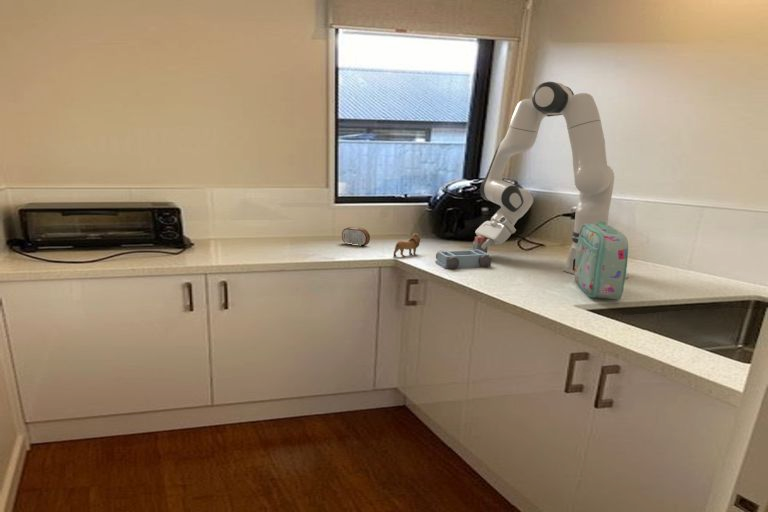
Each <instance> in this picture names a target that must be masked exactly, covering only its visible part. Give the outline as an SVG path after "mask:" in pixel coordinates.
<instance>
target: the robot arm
mask: <svg viewBox="0 0 768 512" xmlns="http://www.w3.org/2000/svg"><path fill="white" fill-rule="evenodd" d="M531 95H532V96H531V98H524V99H522V100H520V101H519V102H517V105H516V106H515V108H514V111H513V114H512V115H511V119H510V123H509V125H508V129H507V132H506V134H505V136H504V138H503V139H502V140H501V141H500V142H499V143H498V145H497V148H496V149H495V152H494V154H493V158H492V160H491V163H490V164H489V169H488V170H487V172H486V175H485V177H484V179H483V180H482V182H481V184H480V187H479V188H480V189H479V194H480V196H481V198H483V200H485V201H488V202H492V203H494V204H496V205H498V206H499V207H500V208H499V209H498V210H497V211H496V212H495V213H494V214H493V216H491V218H490V220H486V221H484V222H483V223H482V224H480V225H479V227H477V229H475V232H474V233H475V235H476V237H477V236H484V237H486V242H485V243H482V244H481V245H480V247H481V248H482V249H485V248H486V247H487V248H488V247H490V246H491V245H492V244H495V245H497V246H500V245H503V244H504V243H505V242H506V241H507V240H508V239H509V238H510V237H511V235H512V234H514V233H516V231H517V229H516V228H515V224H516V223H517V221H518V220H519V219H521V218H522V217H524V215H525V214H526V213H527V212H528V211H529V209H530V208H531V206H532V205H533V203H534V197H533V194H532V193H530V191H528V190H527V189H526V188H521V187H518V186H516V185H515V184H513V183H511V182H508V181H505V180H503V177H502V176H503V174H504V171H505V169H506V166H507V164H508V162H509V159H510V158H511V157H513V156H515V155H519V154H523V153H526V152H527V151H529V150H531V148H533V146H534V145H535V142H536V141H537V138H538V132H539V130H540V126H541V123H542V121H543V119H544V118H546V117H556V116H563V117H564V120H565V123H566V128H567V133H568V138H569V143H570V148H571V152H572V166H573V169H572V170H573V177H574V185H575V188H576V189H577V190H578V191H579V195H578V200H577V204H576V208H575V214H574V215H575V217H574V227H573V231H572V234H571V241H572V244H571V246H570V248H569V250H568V254H567V255H568V256H567V261H566V266H565V267H564V268H563V272H566V273H569V274H573V275H574V271H573V260H574V259H575V258H576V251H577V244H578V238H579V234H580V230H581V228H582V226H583V225H584V224H597V221H599V222H606V226H609V225H608V224H609V223H608V222H609V215H610V207H611V203H612V196H613V189H614V182H615V172H614V170H613V168H612V167H611V166H609V165H608V161H607V154H606V153H607V152H606V141H605V136H604V135H605V134H604V131H603V126H602V125H603V124H602V121H601V116H600V112H599V109H598V106H597V104H596V101H595V99H594V97H593V96H592V95H591V94H590V93H587V92H580V93H576V94H575V93H574V91H573V90H572V89H571V88H570V87H569V86H566V85H564V84H562V83H560V82H555V81H545V82H542V83H541V84H539V85H538V86H536V88H535V89H534V90H533V92H532V94H531ZM628 278H629V274H627V273H626V277H625V280H626V279H628Z"/></svg>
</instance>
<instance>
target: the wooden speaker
mask: <svg viewBox="0 0 768 512" xmlns="http://www.w3.org/2000/svg"><path fill="white" fill-rule="evenodd" d="M341 239H342V242H343V243H345V242H347V243H352V244H358V245H365V246H367V245H369V243H370V241H371V236H370V233H369V231H368V230H367V229H365V228H361V227H353V226H348V227H346V228H343V230H342V232H341Z"/></svg>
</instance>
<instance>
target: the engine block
mask: <svg viewBox="0 0 768 512" xmlns="http://www.w3.org/2000/svg"><path fill="white" fill-rule="evenodd" d="M486 241H487V240H486V237H484V236H477V235H476V236H474V240H473V241H472V249H473V250H481V251H483V252H485V253H487V254H488V246H487V247H486V248H485V249H482V248H481V247H480V245H481V244H482V243H485V242H486Z"/></svg>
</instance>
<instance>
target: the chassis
mask: <svg viewBox="0 0 768 512" xmlns="http://www.w3.org/2000/svg"><path fill="white" fill-rule="evenodd" d="M435 259H436V260H435V264H437V265H438V266H440V267H442V268H443V269H451V270H456V269H459V268H460V269H461V268H474V267H475V268H476V267H483V268H488V267H491V264H492V258H491V257H490V254H489V253H488V252H487V253H485V252H483V251H481V250H473V248H470V249H466V250H438V251H437V252H436V253H435Z"/></svg>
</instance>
